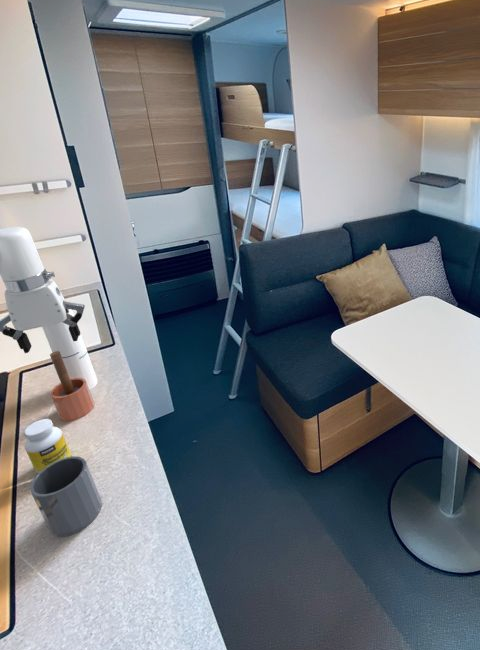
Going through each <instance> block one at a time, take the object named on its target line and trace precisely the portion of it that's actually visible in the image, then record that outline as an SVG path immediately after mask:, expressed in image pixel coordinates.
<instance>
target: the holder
mask: <svg viewBox="0 0 480 650" xmlns="http://www.w3.org/2000/svg"><path fill="white" fill-rule="evenodd" d="M71 382H72V385H73V387H78V388H79V389H78V390H77V391H75V392H73V393H71V394H69V395H65V396H61V394H62V392H64V389H63V387H62V384H61V382H59V383H58V384H57V385H55V386H54V387H53V388H52V389H50V392H49V396H50V399H51V401H52V403H53V406H54V408H55V411H56V413H57V415H58V417H59V419H60V421H62V422H73V421H76V420H79V419H82V418H84V417H85V416H87V415H88V414H89V413H91V412H92V410H93V409H94V408H95V401H94V399H93V397H92V393H91V391H90V390H91V389H90V390H89V387H88V385H87V382H86V380H85V379H83V378H73V379H71Z"/></svg>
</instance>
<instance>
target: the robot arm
mask: <svg viewBox="0 0 480 650" xmlns="http://www.w3.org/2000/svg"><path fill="white" fill-rule="evenodd" d="M40 257H41V256H40V254H39V252H38V249H37V246H36V244H35V242H34V239H33V237H32V234H31V232H30V231H29V229H27V228H26V227H23V226H9V227H3V228H0V277H1V280H2V282H3V284H4V286H5V291H4V299H5V304H6V309H7V312H8V314H7V315H5V316H4V317H3V318H1V319H0V333H2V335H4V336H6V337H10V338H12V340H14V341H16V342H17V345H18V347H19V349H20V350H23V352H24V354H29V353H30V351H31V348H32V343H31V341H30V339H29V335H27V334H28V333H26V332H24V331H30V330H33V329H38V328H39V329H40V328H42V327H44V326H48V325H52V324H57V323H60V322H63V323H65V324H67V325H69V331H70V334H71V336H72V339H73V341H77V340H78V336H80V333H81V331H80V328H79V324H78V323H79V322H80V320H81V319H82V317H83V314H84V311H85V308H86V305H85V304H83V303H77V302H72V301H71V302H70V301H66V299H65V296H64V295H63V292H62V291H61V290H60V288H59V286H58V285H57V282H55V280H54V279H53V278H55V277H56V275H55V272H54V271H47V270H46V268H45V267H44V265H43V261H42V259H41V258H40ZM69 309H72V310H73V311H76V312H75V314H74V316H72V315H70V314H68V313H69ZM10 322H11V323H12V324H11V325H12V326H13V327H10V326H7V324H9V323H10ZM77 324H78V325H77Z"/></svg>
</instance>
